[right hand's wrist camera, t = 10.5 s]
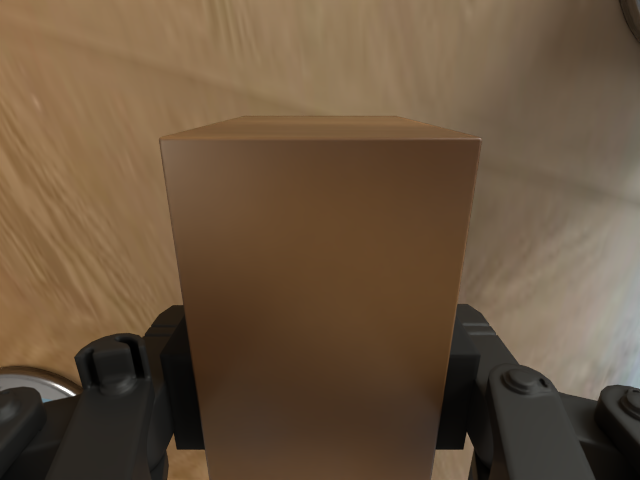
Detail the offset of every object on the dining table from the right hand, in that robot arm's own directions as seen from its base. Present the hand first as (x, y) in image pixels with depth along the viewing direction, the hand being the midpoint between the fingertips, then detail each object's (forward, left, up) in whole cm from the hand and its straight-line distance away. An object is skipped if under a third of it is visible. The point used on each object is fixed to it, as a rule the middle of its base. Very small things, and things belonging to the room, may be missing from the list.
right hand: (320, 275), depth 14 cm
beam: (-2, +20, -1) cm, 21 cm away
